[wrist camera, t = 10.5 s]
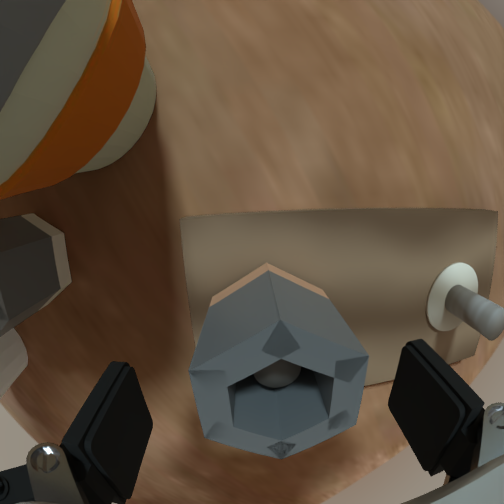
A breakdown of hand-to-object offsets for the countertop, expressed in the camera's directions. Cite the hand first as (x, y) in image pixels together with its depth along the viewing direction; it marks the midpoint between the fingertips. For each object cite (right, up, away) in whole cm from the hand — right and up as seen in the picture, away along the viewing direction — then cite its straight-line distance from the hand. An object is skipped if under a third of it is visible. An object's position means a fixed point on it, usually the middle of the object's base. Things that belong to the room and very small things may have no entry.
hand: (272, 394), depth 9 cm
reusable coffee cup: (-11, +14, +6) cm, 19 cm away
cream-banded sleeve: (-16, +4, +8) cm, 19 cm away
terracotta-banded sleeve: (0, +1, +7) cm, 7 cm away
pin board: (+7, +2, +9) cm, 11 cm away
